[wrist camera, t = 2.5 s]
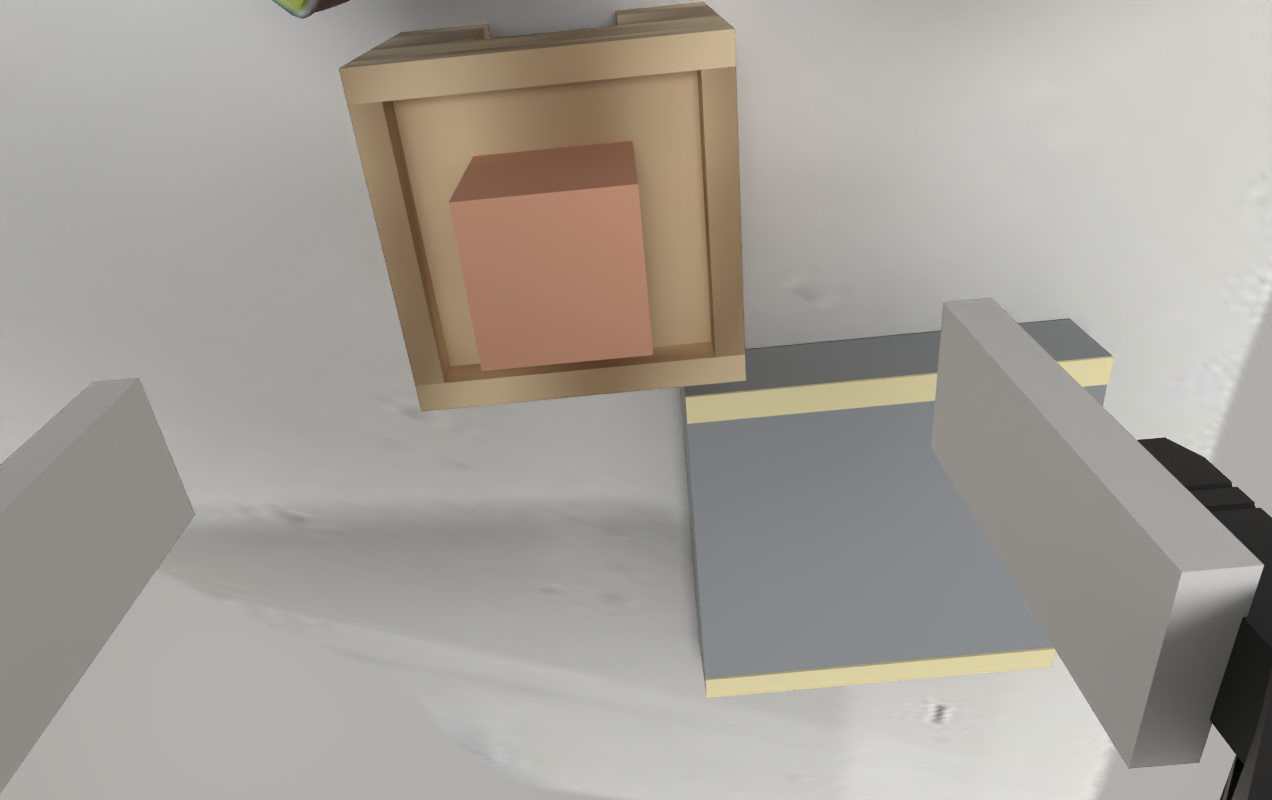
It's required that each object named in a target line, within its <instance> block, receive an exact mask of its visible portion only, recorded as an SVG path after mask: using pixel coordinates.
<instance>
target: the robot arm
mask: <svg viewBox="0 0 1272 800" xmlns="http://www.w3.org/2000/svg"><path fill="white" fill-rule="evenodd" d="M931 448H932V450H933V451H934V453H935V455H936V456H937V458H938V460H939V461H940V463H941V464H942V466H943V468H944V469H945V471H946V473H947V474H948V476H949V477H950V479H951V481H952V482H953V484H954V486H955V487H956V489H957V490H958V492H959V494H960V495H961V497H962V499H963V500H964V502H965V504H966V505H967V507H968V508H969V510H970V512H971V513H972V515H973V517H974V518H975V520H976V521H977V523H978V525H979V526H980V528H981V530H982V531H983V533H984V534H985V536H986V538H987V539H988V541H989V543H990V544H991V546H992V547H993V549H994V551H995V552H996V554H997V556H998V557H999V559H1000V560H1001V562H1002V564H1003V565H1004V567H1005V569H1006V570H1007V572H1008V573H1009V575H1010V577H1011V578H1012V580H1013V582H1014V583H1015V585H1016V586H1017V588H1018V590H1019V591H1020V593H1021V595H1022V596H1023V598H1024V599H1025V601H1026V603H1027V604H1028V606H1029V608H1030V609H1031V611H1032V612H1033V614H1034V616H1035V617H1036V619H1037V621H1038V622H1039V624H1040V625H1041V627H1042V629H1043V630H1044V632H1045V634H1046V635H1047V637H1048V638H1049V640H1050V642H1051V643H1052V645H1053V647H1054V648H1055V650H1056V651H1057V653H1058V655H1059V656H1060V658H1061V660H1062V661H1063V663H1064V664H1065V666H1066V668H1067V669H1068V671H1069V673H1070V674H1071V676H1072V677H1073V679H1074V681H1075V682H1076V684H1077V686H1078V687H1079V689H1080V690H1081V692H1082V694H1083V695H1084V697H1085V699H1086V700H1087V702H1088V703H1089V705H1090V707H1091V708H1092V710H1093V712H1094V713H1095V715H1096V716H1097V718H1098V720H1099V721H1100V723H1101V725H1102V726H1103V728H1104V729H1105V731H1106V733H1107V734H1108V736H1109V738H1110V739H1111V741H1112V742H1113V744H1114V746H1115V747H1116V749H1117V751H1118V752H1119V754H1120V755H1121V757H1122V759H1123V760H1124V762H1125V763H1126V765H1127V767H1128V768H1141V767H1152V766H1165V765H1175V764H1189V763H1199V762H1200V758H1201V755H1202V752H1203V750H1204V747H1205V744H1206V740H1207V737H1208V734H1209V731H1210V728H1211V725H1212V723H1213V725H1214V726H1215V727H1216V729H1217V730H1218V731H1219V733H1220V734H1221V735H1222V737H1223V738H1224V739H1225V741H1226V742H1227V743H1228V744H1229V746H1230V747H1231V749H1232V750H1233V751H1234V753H1236V757H1235V759H1234V762H1233V765H1232V768H1231V770H1230V773H1229V776H1228V779H1227V782H1226V785H1225V787H1224V790H1223V793H1222V796H1221V798H1220V800H1272V518H1271V517H1270V516H1269V515H1268V514H1267V513H1266V512H1265V511H1264V510H1262V509H1261V508H1255V505H1254V502H1253V501H1252V500H1251V499H1250V498H1249V497H1248V496H1247V495H1246V494H1245V493H1243V492H1242V491H1241V490H1240V489H1239V488H1238V487H1232V482H1231V481H1230V480H1229V479H1228V478H1227V477H1226V476H1225V475H1223V474H1222V473H1221V472H1220V471H1219V470H1218V469H1217V468H1215V467H1214V466H1213V465H1212V464H1211V463H1210V462H1209V461H1208V460H1207V459H1206V458H1204V457H1203V456H1201V455H1199V454H1197V453H1195V452H1193V451H1191V450H1189V449H1187V448H1185V447H1183V446H1181V445H1179V444H1177V443H1175V442H1173V441H1171V440H1169V439H1167V438H1154V439H1143V440H1136V439H1135V438H1134V437H1133V436H1132V435H1131V434H1130V433H1129V432H1128V431H1127V430H1126V429H1125V428H1124V427H1123V426H1122V425H1121V424H1120V423H1119V422H1118V421H1117V420H1116V419H1115V418H1114V417H1113V416H1112V415H1111V414H1110V413H1108V412H1107V411H1106V410H1105V409H1104V408H1103V407H1102V406H1101V405H1100V404H1099V403H1098V402H1097V401H1096V400H1095V399H1094V398H1093V397H1092V396H1091V395H1090V394H1089V393H1088V392H1087V391H1086V390H1085V389H1084V388H1083V387H1082V386H1081V385H1080V384H1079V383H1078V382H1077V381H1076V380H1075V379H1074V378H1073V377H1072V376H1071V375H1070V374H1069V373H1068V372H1067V371H1066V370H1065V369H1064V368H1063V367H1062V366H1061V365H1059V364H1058V363H1057V362H1056V361H1055V360H1054V359H1053V358H1052V357H1051V356H1050V355H1049V354H1048V353H1047V352H1046V351H1045V350H1044V349H1043V348H1042V347H1041V346H1040V345H1039V344H1038V343H1037V342H1036V341H1035V340H1034V339H1033V338H1032V337H1031V336H1030V335H1029V334H1028V333H1027V332H1026V331H1025V330H1024V329H1023V328H1022V327H1021V326H1020V325H1019V324H1018V323H1017V322H1016V321H1015V320H1014V319H1013V318H1012V317H1010V316H1009V315H1008V314H1007V313H1006V312H1005V311H1004V310H1003V309H1002V308H1001V307H1000V306H999V305H998V304H997V303H996V302H995V301H994V300H993V299H992V298H983V299H973V300H962V301H952V302H944V303H943V314H942V326H941V337H940V349H939V361H938V372H937V384H936V395H935V407H934V418H933V430H932V442H931ZM194 515H195V513H194V511H193V508H192V506H191V503H190V501H189V498H188V496H187V494H186V491H185V489H184V486H183V484H182V481H181V479H180V476H179V474H178V472H177V469H176V467H175V464H174V462H173V459H172V457H171V455H170V452H169V450H168V447H167V445H166V442H165V440H164V438H163V435H162V433H161V430H160V428H159V425H158V423H157V421H156V418H155V416H154V413H153V411H152V408H151V406H150V404H149V401H148V399H147V396H146V394H145V391H144V389H143V387H142V384H141V382H140V379H139V378H133V379H122V380H112V381H101V382H93V383H91V384H90V385H89V386H88V387H87V388H86V389H85V390H84V391H82V392H81V393H80V394H79V395H78V396H77V397H76V398H75V399H74V400H72V401H71V402H70V403H69V404H68V405H67V406H66V407H65V408H63V409H62V410H61V411H60V412H59V413H58V414H57V415H56V416H55V417H53V418H52V419H51V420H50V421H49V422H48V423H47V424H46V425H44V426H43V427H42V428H41V429H40V430H39V431H38V432H37V433H35V434H34V435H33V436H32V437H31V438H30V439H29V440H28V441H27V442H25V443H24V444H23V445H22V446H21V447H20V448H19V449H18V450H16V451H15V452H14V453H13V454H12V455H11V456H10V457H9V458H7V459H6V460H5V461H4V462H3V463H2V464H1V465H0V794H1V792H2V791H3V789H4V788H5V786H6V785H7V783H8V782H9V781H10V779H11V778H12V776H13V775H14V773H15V772H16V771H17V769H18V768H19V766H20V765H21V763H22V762H23V761H24V759H25V758H26V756H27V755H28V753H29V752H30V750H31V749H32V748H33V746H34V745H35V743H36V742H37V740H38V739H39V738H40V736H41V735H42V733H43V732H44V730H45V729H46V728H47V726H48V725H49V723H50V722H51V720H52V719H53V717H54V716H55V714H56V713H57V712H58V710H59V709H60V707H61V706H62V705H63V703H64V702H65V700H66V699H67V697H68V696H69V695H70V693H71V692H72V690H73V688H74V687H75V686H76V684H77V683H78V682H79V680H80V679H81V677H82V676H83V674H84V673H85V672H86V670H87V669H88V667H89V666H90V664H91V663H92V661H93V660H94V659H95V657H96V656H97V654H98V653H99V652H100V650H101V649H102V647H103V646H104V644H105V643H106V641H107V640H108V639H109V637H110V636H111V634H112V633H113V631H114V630H115V629H116V627H117V626H118V624H119V623H120V621H121V620H122V619H123V617H124V616H125V614H126V613H127V611H128V610H129V608H130V607H131V605H132V604H133V602H134V601H135V600H136V598H137V597H138V596H139V594H140V593H141V591H142V590H143V588H144V587H145V585H146V584H147V583H148V581H149V580H150V578H151V577H152V575H153V574H154V573H155V571H156V570H157V568H158V567H159V565H160V564H161V563H162V561H163V560H164V558H165V557H166V555H167V554H168V553H169V551H170V550H171V548H172V547H173V545H174V544H175V542H176V541H177V540H178V538H179V537H180V535H181V534H182V532H183V531H184V530H185V528H186V527H187V525H188V524H189V522H190V521H191V520H192V518H193V517H194Z"/></svg>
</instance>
